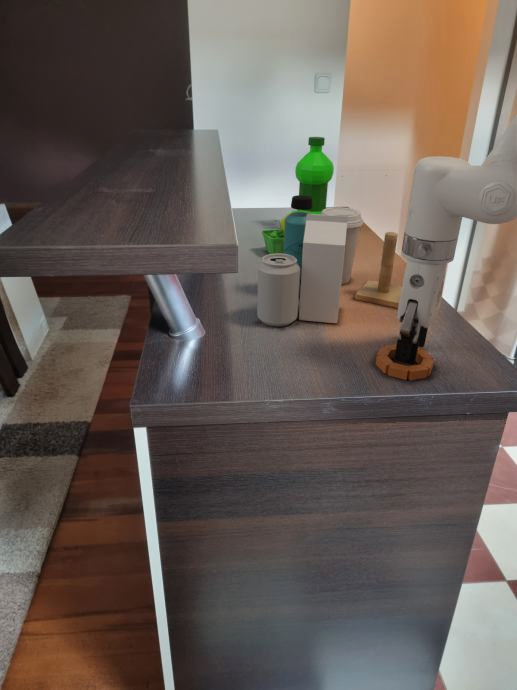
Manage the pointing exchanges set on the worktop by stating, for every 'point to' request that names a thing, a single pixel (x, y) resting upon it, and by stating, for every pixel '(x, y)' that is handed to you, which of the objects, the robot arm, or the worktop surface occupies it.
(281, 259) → the can
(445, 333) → the worktop surface
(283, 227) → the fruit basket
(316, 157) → the plastic bottle
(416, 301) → the robot arm
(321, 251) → the milk carton
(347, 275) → the coffee cup
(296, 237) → the beverage bottle
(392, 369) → the ring
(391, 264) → the post
